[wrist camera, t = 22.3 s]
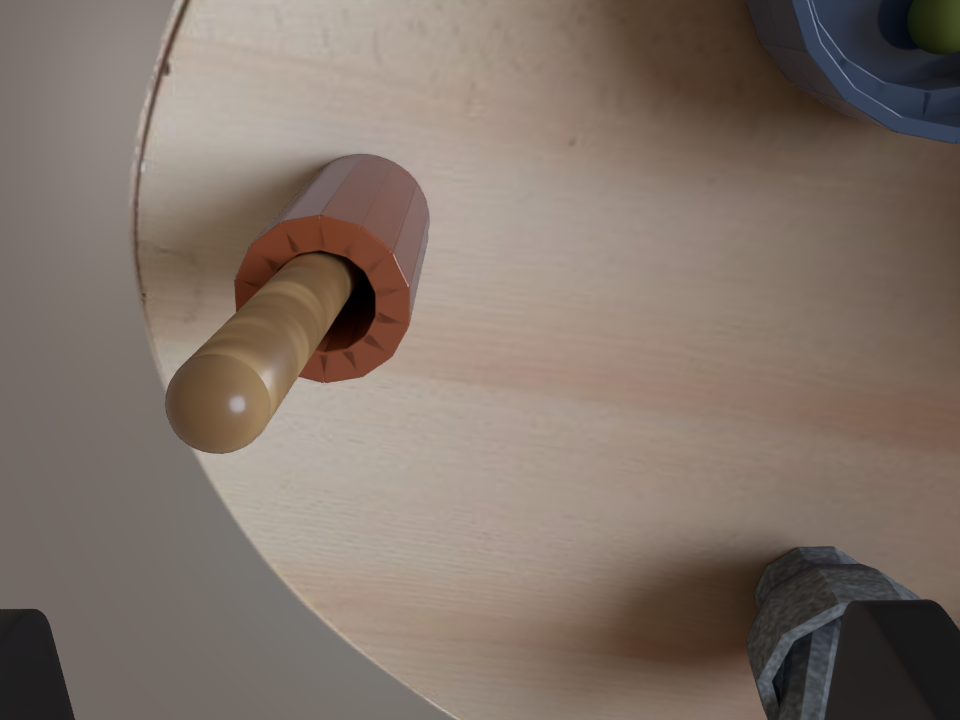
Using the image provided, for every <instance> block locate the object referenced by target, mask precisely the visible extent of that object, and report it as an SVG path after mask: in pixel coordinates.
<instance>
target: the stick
mask: <svg viewBox="0 0 960 720" xmlns="http://www.w3.org/2000/svg"><path fill="white" fill-rule="evenodd" d="M364 273H365V272H364V271H363V270H362V269H361V268H359V267H358V266H357V265H356V264H354V263H353V262H352V261H351V260H349V259H348V258H347V257H344V256H341V255H337V254H333V253H329V252H326V251H322V250H320V251H314V252H308V253H303V254H298V255H297V256H295V257H294V258H293V259H291V260H290V261H289V262H288V263H287V264H286V265H285V266H283V267H282V268H281V269H280V270H279V271H278V272H277V273H276V274H275V275H274V276H273V277H272V278H271V279H270V280H269V281H268V282H267V283H266V284H265V285H264V286H263V287H262V288H261V289H260V290H259V291H258V292H257V293H256V294H255V295H254V296H253V297H252V298H251V299H250V300H249V301H248V302H247V303H246V304H245V305H244V306H242V307H241V308H240V309H239V310H238V311H237V312H236V313H235V314H234V315H233V316H232V317H231V318H230V319H229V320H228V321H227V322H226V323H225V324H224V325H223V326H222V327H221V328H220V329H219V330H218V331H217V332H216V333H215V334H214V335H213V336H212V337H211V338H210V339H209V340H208V341H207V342H206V343H205V344H204V345H203V346H202V347H200V348H199V349H198V350H197V351H196V352H195V353H194V354H193V355H192V356H191V357H190V358H189V359H188V360H187V361H186V362H185V363H184V364H183V365H182V366H181V367H180V368H179V369H178V370H177V372H176V373H175V375H174V376H173V378H172V380H171V381H170V383H169V386H168V389H167V393H166V403H165V406H166V414H167V417H168V420H169V422H170V425H171V426H172V428H173V430H174V432H175V433H176V434H177V435H178V437H179V438H180V439H181V440H183V441H184V442H185V443H186V444H188V445H189V446H191V447H193V448H195V449H197V450H200V451H203V452H208V453H218V454H223V453H230V452H233V451H236V450H239V449H241V448H244V447H245V446H247V445H249V444H250V443H252V442H253V441H254V440H255V439H256V438H257V437H258V436H259V435H260V434H261V433H262V432H263V430H264V429H265V427H266V426H267V424H268V423H269V421H270V420H271V418H272V416H273V415H274V413H275V412H276V410H277V409H278V407H279V406H280V404H281V402H282V401H283V399H284V398H285V396H286V395H287V393H288V392H289V390H290V388H291V387H292V385H293V384H294V382H295V381H296V379H297V378H298V376H299V374H300V373H301V371H302V370H303V368H304V367H305V365H306V364H307V362H308V360H309V359H310V357H311V356H312V354H313V353H314V351H315V350H316V348H317V346H318V345H319V343H320V342H321V340H322V339H323V337H324V336H325V334H326V332H327V331H328V329H329V328H330V326H331V325H332V323H333V322H334V320H335V318H336V317H337V315H338V314H339V312H340V311H341V309H342V308H343V306H344V304H345V303H346V301H347V300H348V298H349V297H350V295H351V294H352V292H353V290H354V289H355V287H356V286H357V284H358V283H359V281H360V280H361V278H362V276H363V275H364Z"/></svg>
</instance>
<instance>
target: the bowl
mask: <svg viewBox="0 0 960 720" xmlns="http://www.w3.org/2000/svg"><path fill="white" fill-rule="evenodd" d="M746 2H747V5H748V8H749V11H750V14H751V17H752V20H753V23H754V26H755V29H756V32H757V35H758V38H759V41H760V42H761V44H762V46H763V47H764V48H765V50H766V51H767V52H768V53H769V55H770V56H771V57H772V59H773V60H774V61H775V63H776V64H777V65H778V66H779V68H780V69H781V70H782V72H783V73H784V74H785V75H786V77H787V78H788V79H789V81H790V82H791V83H792V84H793V85H794V86H795V87H797V88H798V89H800V90H802V91H803V92H805V93H807V94H808V95H810V96H812V97H813V98H815V99H816V100H818V101H820V102H821V103H823V104H825V105H826V106H828V107H830V108H831V109H833V110H834V111H836V112H839V113H841V114H844V115H847V116H850V117H853V118H856V119H859V120H862V121H865V122H867V123H870V124H873V125H876V126H879V127H882V128H884V129H887V130H890V131H893V132H896V133H901V134H906V135H911V136H916V137H922V138H927V139H932V140H937V141H942V142H947V143H952V144H954V143H956V144H957V143H960V51H959V52H956V53H952V54H947V55H937V54H932V53H928V52H926V51H924V50H922V49H921V48H919V47H918V46H917V45H916V44H915V43H914V42H913V40H912V38H911V37H910V34H909V31H908V26H907V18H908V12H909V9H910V6H911V4H912V2H913V0H746Z"/></svg>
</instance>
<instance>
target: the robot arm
mask: <svg viewBox="0 0 960 720" xmlns="http://www.w3.org/2000/svg"><path fill="white" fill-rule="evenodd" d="M0 720H75V718H74V714H73V711H72V707H71V703H70V699H69V695H68V692H67V688H66V684H65V680H64V676H63V673H62V669H61V665H60V662H59V658H58V654H57V650H56V646H55V643H54V639H53V635H52V631H51V628H50V625H49V622H48V620H47V618H46V616H45V615H44V614H43V613H42V612H41V611H39V610H37V609H0ZM824 720H960V630H959V629H958V628H957V626H956V625H955V624H954V622H953V621H952V620H951V618H950V617H949V615H948V614H947V613H946V611H945V610H944V609H943V608H942V607H941V606H940V605H939V604H938V603H936V602H934V601H932V600H927V599H923V600H855V601H851V602H850V603H849V604H848V605H847V607H846V608H845V611H844V614H843V618H842V622H841V628H840V633H839V639H838V645H837V650H836V656H835V661H834V667H833V672H832V678H831V684H830V689H829V695H828V700H827V706H826V711H825V719H824Z"/></svg>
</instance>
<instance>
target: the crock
mask: <svg viewBox="0 0 960 720" xmlns="http://www.w3.org/2000/svg"><path fill="white" fill-rule="evenodd" d="M428 231H429V209H428V205H427V201H426V199H425V196H424V193H423V192H422V190H421V188H420V186H419V185H418V183H417V182H416V181H415V179H414V178H413V177H412V176H411V175H410V174H409V173H408V172H407V171H406V170H405V169H403V168H402V167H401V166H399V165H398V164H396V163H394V162H392V161H390V160H388V159H386V158H382V157H379V156H375V155H368V154H357V155H350V156H345V157H342V158H340V159H337V160H335V161H333V162H331V163H329V164H328V165H326V166H325V167H324V168H322V169H321V170H320V171H319V172H318V173H317V174H316V175H314V176H313V177H312V178H311V179H310V180H309V181H308V182H307V183H306V184H305V185H304V186H303V188H302V189H301V190H300V191H299V192H298V193H297V194H296V195H295V196H294V197H293V198H292V200H291V201H290V202H289V203H288V204H287V205H286V206H285V207H284V208H283V209H282V211H281V212H280V213H279V214H278V215H277V216H276V217H275V218H274V219H273V220H272V222H271V223H270V224H269V225H268V226H267V227H266V228H265V229H264V230H263V231H262V232H261V234H260V235H259V236H258V237H257V238H256V239H255V240H254V241H253V242H252V243H251V245H250V246H249V248H248V250H247V252H246V254H245V257H244V259H243V261H242V263H241V265H240V268H239V270H238V272H237V274H236V279H235V280H234V286H235V301H236V312H237V311H238V310H239V309H240V308H241V307H242V306H244V305H245V304H246V303H247V302H248V301H249V300H250V299H251V298H252V297H253V296H254V295H255V294H256V293H257V292H258V291H259V290H260V289H261V288H262V287H263V286H264V285H265V284H266V283H267V282H268V281H269V280H270V279H271V278H272V277H273V276H274V275H275V274H276V273H277V272H278V271H279V270H280V269H281V268H282V267H283V266H285V265H286V264H287V263H288V262H289V261H290V260H291V259H293V258H294V257H295V256H297V255H298V254H303V253H308V252H314V251H320V250H322V251H326V252H329V253H333V254H337V255H341V256H344V257H347V258H348V259H349V260H351V261H352V262H353V263H354V264H356V265H357V266H358V267H359V268H361V269H362V270H363V271H364V272H365V273H364V275H363V276H362V278H361V280H360V281H359V283H358V284H357V286H356V287H355V289H354V290H353V292H352V294H351V295H350V297H349V298H348V300H347V301H346V303H345V304H344V306H343V308H342V309H341V311H340V312H339V314H338V315H337V317H336V318H335V320H334V322H333V323H332V325H331V326H330V328H329V329H328V331H327V332H326V334H325V336H324V337H323V339H322V340H321V342H320V343H319V345H318V346H317V348H316V350H315V351H314V353H313V354H312V356H311V357H310V359H309V360H308V362H307V364H306V365H305V367H304V368H303V370H302V371H301V373H300V374H299V376H298V377H302V378H306V379H310V380H313V381H317V382H321V383H324V382H325V383H330V382H336V381H342V380H348V379H354V378H360V377H364V376H365V375H367V374H368V373H369V372H371V371H372V370H374V369H375V368H377V367H378V366H380V365H381V364H383V363H384V362H386V361H387V360H388V359H390V358H391V357H392V356H393V355H394V353H395V351H396V349H397V347H398V346H399V344H400V342H401V340H402V338H403V336H404V335H405V333H406V331H407V329H408V327H409V324H410V320H411V315H412V311H413V306H414V302H415V297H416V293H417V288H418V284H419V279H420V274H421V270H422V265H423V261H424V256H425V252H426V247H427V243H428Z"/></svg>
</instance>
